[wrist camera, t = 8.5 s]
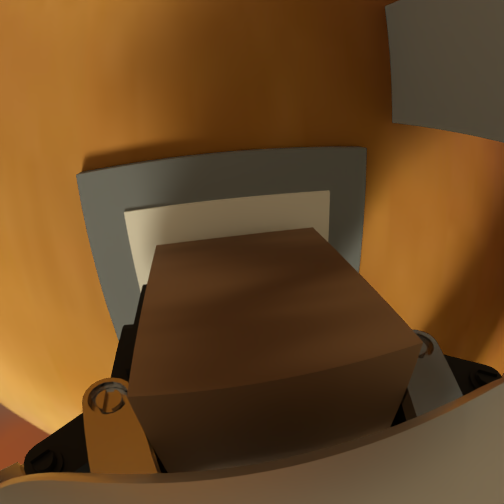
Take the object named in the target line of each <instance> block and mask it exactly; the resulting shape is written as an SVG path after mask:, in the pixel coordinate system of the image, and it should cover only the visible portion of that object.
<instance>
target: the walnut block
mask: <svg viewBox="0 0 504 504" xmlns="http://www.w3.org/2000/svg"><path fill="white" fill-rule="evenodd" d="M422 344H423V341H422V340H421V339H420V338H419V337H418V336H417V335H416V334H415V333H414V331H413V330H412V329H411V328H410V327H409V326H408V325H407V324H406V323H405V321H404V320H403V319H402V318H401V317H400V316H399V315H398V314H397V313H396V312H395V311H394V310H393V308H392V307H391V306H390V305H389V304H388V303H387V302H386V301H385V300H384V299H383V298H382V297H381V296H380V295H379V294H378V293H377V291H376V290H375V289H374V288H373V287H372V286H371V285H370V284H369V283H368V282H367V281H366V280H365V279H364V278H363V277H362V276H361V275H360V274H359V273H358V272H357V271H356V270H355V269H354V268H353V267H352V266H351V265H350V264H349V263H348V262H347V261H346V260H345V259H344V258H343V257H342V255H341V254H340V253H339V252H338V251H337V250H336V249H335V248H334V247H332V246H331V245H330V244H329V243H328V242H327V241H326V240H325V239H324V238H323V237H322V236H321V235H320V234H319V233H318V232H317V231H316V230H315V229H314V228H313V227H311V228H301V229H292V230H283V231H273V232H264V233H255V234H247V235H238V236H229V237H220V238H212V239H204V240H195V241H187V242H179V243H171V244H162V245H156V249H155V253H154V257H153V261H152V265H151V269H150V274H149V278H148V282H147V287H146V291H145V296H144V301H143V306H142V310H141V315H140V320H139V326H138V331H137V336H136V342H135V347H134V353H133V359H132V365H131V371H130V378H129V384H128V391H127V398H128V400H129V402H130V405H131V407H132V409H133V411H134V413H135V415H136V417H137V419H138V420H139V422H140V424H141V426H142V428H143V430H144V432H145V434H146V436H147V437H148V439H149V441H150V443H151V445H152V447H153V448H154V450H155V452H156V454H157V455H158V457H159V459H160V460H161V462H162V464H163V465H164V467H165V469H166V470H167V472H168V473H179V472H193V471H204V470H214V469H223V468H230V467H237V466H244V465H250V464H256V463H262V462H268V461H273V460H278V459H283V458H288V457H292V456H297V455H301V454H305V453H309V452H313V451H317V450H321V449H325V448H328V447H332V446H336V445H339V444H342V443H346V442H349V441H352V440H355V439H359V438H362V437H365V436H368V435H371V434H373V433H376V432H379V431H382V430H385V429H388V428H390V426H391V424H392V422H393V420H394V417H395V415H396V413H397V411H398V408H399V406H400V404H401V401H402V399H403V396H404V394H405V391H406V389H407V386H408V384H409V381H410V378H411V376H412V373H413V370H414V368H415V365H416V362H417V359H418V356H419V353H420V350H421V347H422Z"/></svg>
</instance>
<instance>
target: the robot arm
mask: <svg viewBox="0 0 504 504" xmlns="http://www.w3.org/2000/svg"><path fill="white" fill-rule="evenodd" d="M146 287H147V284H144V285H143V286H142V290H141V294H140V298H139V302H138V307H137V311H136V316H135V320H134V324H129V325H124V326H123V328H122V331H121V335H120V339H119V343H118V348H117V352H116V356H115V361H114V365H113V370H112V374H111V378H105V379H102V380H99V381H97V382H95V383H94V384H92V385H91V386H90V387H89V388H88V389H87V390H86V392H85V394H84V396H83V400H82V407H83V413H82V414H80V415H79V416H77V417H76V418H75V419H73V420H72V421H70V422H69V423H67V424H66V425H65V426H63V427H62V428H60V429H59V430H57V431H56V432H54V433H53V434H51V435H50V436H49V437H47V438H46V439H44V440H43V441H41V442H40V443H38V444H37V445H35V446H34V447H33V448H32V449H31V450H29V452H28V454H27V455H26V457H25V461H24V464H22V465H20V464H19V463H18V462H17V463H15V464H13V465H11V466H9V467H7V468H5V469H3V470H0V504H504V373H503V375H502V376H501V375H500V374H499V372H498V371H497V370H495V369H494V368H492V367H490V366H487V365H483V364H479V363H475V362H471V361H467V360H463V359H459V358H455V357H451V356H447V355H443V353H442V351H441V349H440V347H439V345H438V343H437V342H436V340H435V339H434V338H433V337H432V336H430V335H429V334H427V333H425V332H423V331H419V330H413V331H414V333H415V334H416V335H417V336H418V337H419V338H420V339H421V340H422V341H423V344H422V347H421V350H420V353H419V356H418V359H417V362H416V365H415V368H414V370H413V373H412V376H411V378H410V381H409V384H408V386H407V389H406V391H405V394H404V396H403V399H402V401H401V404H400V406H399V408H398V411H397V413H396V415H395V417H394V420H393V422H392V424H391V426H390V428H388V429H385V430H382V431H379V432H376V433H373V434H371V435H368V436H365V437H362V438H359V439H355V440H352V441H349V442H346V443H342V444H339V445H336V446H332V447H328V448H325V449H321V450H317V451H313V452H309V453H305V454H301V455H297V456H292V457H288V458H283V459H278V460H273V461H268V462H262V463H256V464H250V465H244V466H237V467H230V468H223V469H214V470H204V471H193V472H179V473H168V472H167V470H166V469H165V467H164V465H163V464H162V462H161V460H160V459H159V457H158V455H157V454H156V452H155V450H154V448H153V447H152V445H151V443H150V441H149V439H148V437H147V436H146V434H145V432H144V430H143V428H142V426H141V424H140V422H139V420H138V419H137V417H136V415H135V413H134V411H133V409H132V407H131V405H130V402H129V400H128V398H127V391H128V384H129V378H130V371H131V365H132V359H133V353H134V347H135V342H136V336H137V331H138V326H139V320H140V315H141V310H142V306H143V301H144V296H145V291H146Z"/></svg>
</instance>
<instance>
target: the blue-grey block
mask: <svg viewBox="0 0 504 504" xmlns="http://www.w3.org/2000/svg"><path fill="white" fill-rule="evenodd" d="M385 12H386V20H387V29H388V39H389V51H390V65H391V85H392V123H399V124H407V125H415V126H422V127H428V128H435V129H441V130H447V131H452V132H458V133H463V134H468V135H473V136H477V137H482V138H487V139H491V140H495V141H499V142H503V143H504V0H399V1H396V2H394V3H392V4H389V5H387V6H385Z"/></svg>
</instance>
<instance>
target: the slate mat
mask: <svg viewBox="0 0 504 504" xmlns="http://www.w3.org/2000/svg"><path fill="white" fill-rule="evenodd" d="M366 157H367V148H364V147H293V148H272V149H255V150H241V151H228V152H217V153H207V154H197V155H188V156H180V157H172V158H164V159H156V160H149V161H143V162H136V163H130V164H123V165H117V166H112V167H106V168H100V169H95V170H90V171H85V172H80V173H79V174H77V175H76V177H77V183H78V189H79V195H80V200H81V205H82V210H83V215H84V220H85V224H86V229H87V233H88V238H89V242H90V246H91V250H92V254H93V258H94V262H95V266H96V269H97V273H98V277H99V280H100V284H101V287H102V291H103V294H104V297H105V301H106V304H107V307H108V310H109V313H110V316H111V319H112V322H113V325H114V328H115V331H116V334H117V337H118V340H119V339H120V335H121V331H122V328H123V326H124V325H129V324H134V320H135V316H136V311H137V307H138V302H139V298H140V294H141V290H142V286H143V285H144V284H147V282H148V278H149V274H150V269H151V265H152V261H153V257H154V253H155V249H156V245H162V244H171V243H179V242H187V241H195V240H204V239H212V238H220V237H229V236H238V235H247V234H255V233H264V232H273V231H283V230H292V229H301V228H311V227H313V228H314V229H315V230H316V231H317V232H318V233H319V234H320V235H321V236H322V237H323V238H324V239H325V240H326V241H327V242H328V243H329V244H330V245H331V246H332V247H334V248H335V249H336V250H337V251H338V252H339V253H340V254H341V255H342V257H343V258H344V259H345V260H346V261H347V262H348V263H349V264H350V265H351V266H352V267H353V268H354V269H355V270H356V271H357V272H358V273H359V266H360V256H361V245H362V234H363V221H364V206H365V187H366Z"/></svg>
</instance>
